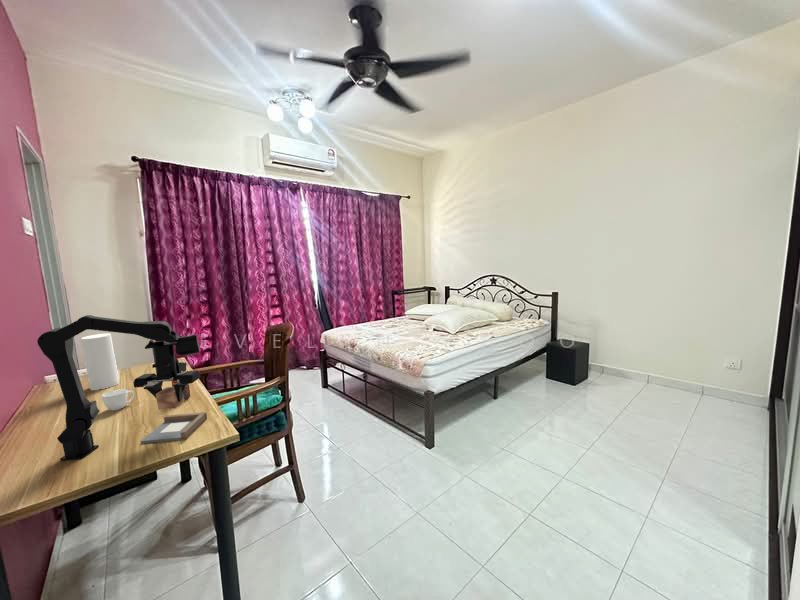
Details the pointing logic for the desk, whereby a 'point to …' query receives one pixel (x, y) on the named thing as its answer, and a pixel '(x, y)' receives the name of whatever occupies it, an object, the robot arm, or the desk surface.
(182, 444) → the desk surface
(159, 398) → the cube
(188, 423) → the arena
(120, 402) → the cup
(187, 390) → the supplement bottle
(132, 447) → the desk surface
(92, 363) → the tall pillar cylinder
